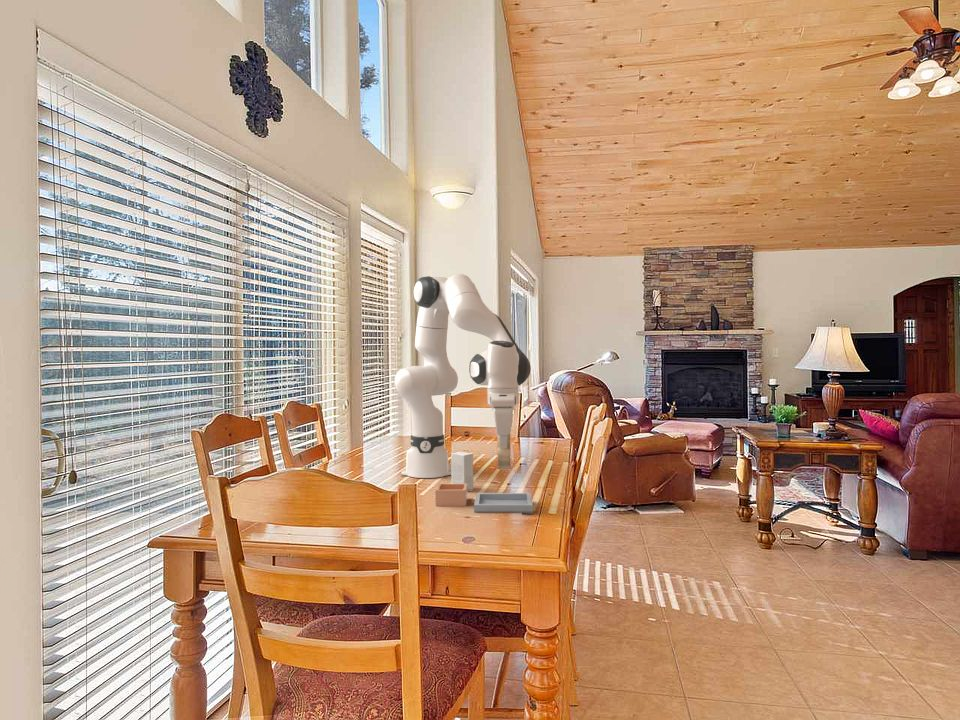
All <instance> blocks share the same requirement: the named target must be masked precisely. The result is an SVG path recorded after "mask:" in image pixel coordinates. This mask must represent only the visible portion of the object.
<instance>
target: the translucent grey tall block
mask: <svg viewBox="0 0 960 720" xmlns="http://www.w3.org/2000/svg"><path fill="white" fill-rule="evenodd" d="M496 436H497V439H496V440H497V469H498V470H503V471H508V470H510V469H512V468H511V467H512V466H511V433H510V434H509V435H507V448H506V449H502V448H501V446H500V435H498V434H497V433H496Z"/></svg>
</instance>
